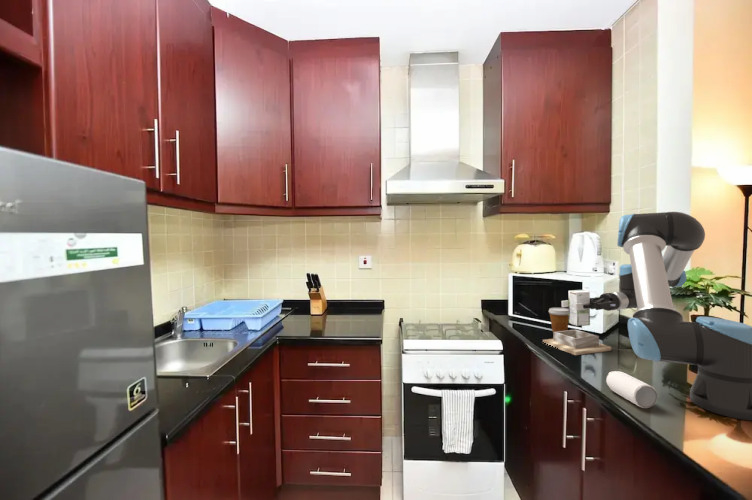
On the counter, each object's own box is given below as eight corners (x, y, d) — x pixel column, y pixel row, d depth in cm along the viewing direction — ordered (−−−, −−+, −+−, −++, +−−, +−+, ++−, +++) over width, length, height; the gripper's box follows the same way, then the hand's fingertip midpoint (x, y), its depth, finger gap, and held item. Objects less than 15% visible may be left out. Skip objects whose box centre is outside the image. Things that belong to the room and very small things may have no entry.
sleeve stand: (611, 350, 139) (611, 337, 139) (575, 355, 135) (575, 341, 135) (575, 339, 156) (575, 327, 156) (542, 343, 152) (542, 331, 152)
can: (633, 386, 91) (603, 370, 103) (635, 410, 91) (605, 391, 103) (657, 383, 91) (624, 368, 103) (659, 407, 91) (626, 389, 103)
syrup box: (581, 322, 146) (580, 289, 146) (590, 325, 140) (589, 291, 140) (568, 323, 146) (567, 289, 146) (577, 326, 140) (576, 291, 140)
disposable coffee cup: (550, 335, 164) (550, 310, 164) (547, 330, 173) (546, 307, 173) (573, 336, 161) (572, 311, 161) (568, 331, 170) (567, 307, 170)
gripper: (634, 314, 138) (588, 319, 133) (593, 306, 157) (551, 310, 151) (634, 295, 138) (588, 300, 132) (593, 290, 157) (551, 293, 151)
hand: (568, 305), depth 142 cm, fingers closed on syrup box, 6 cm apart
